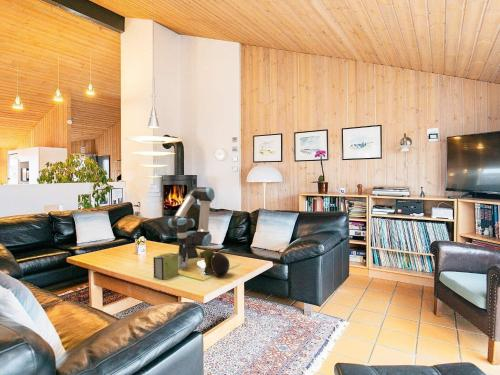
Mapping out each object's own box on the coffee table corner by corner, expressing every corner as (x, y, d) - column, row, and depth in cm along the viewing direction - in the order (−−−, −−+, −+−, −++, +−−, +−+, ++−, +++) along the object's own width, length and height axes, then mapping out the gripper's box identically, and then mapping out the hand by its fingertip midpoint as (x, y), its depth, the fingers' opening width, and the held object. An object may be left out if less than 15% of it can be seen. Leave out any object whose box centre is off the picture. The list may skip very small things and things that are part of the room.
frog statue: (217, 285, 224) (192, 270, 236) (230, 278, 237) (205, 264, 249) (222, 262, 220) (196, 248, 232) (235, 256, 233) (209, 243, 245)
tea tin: (186, 266, 255) (186, 251, 255) (188, 268, 249) (187, 253, 248) (177, 267, 253) (176, 252, 252) (178, 269, 246) (178, 254, 245)
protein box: (178, 274, 235) (178, 254, 234) (163, 280, 222) (163, 258, 221) (168, 272, 240) (168, 252, 240) (153, 277, 227) (153, 256, 226)
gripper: (174, 235, 260) (175, 260, 260) (180, 240, 237) (180, 268, 238) (183, 234, 263) (184, 259, 263) (190, 239, 240) (190, 267, 240)
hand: (182, 263), depth 250 cm, fingers open, 13 cm apart
